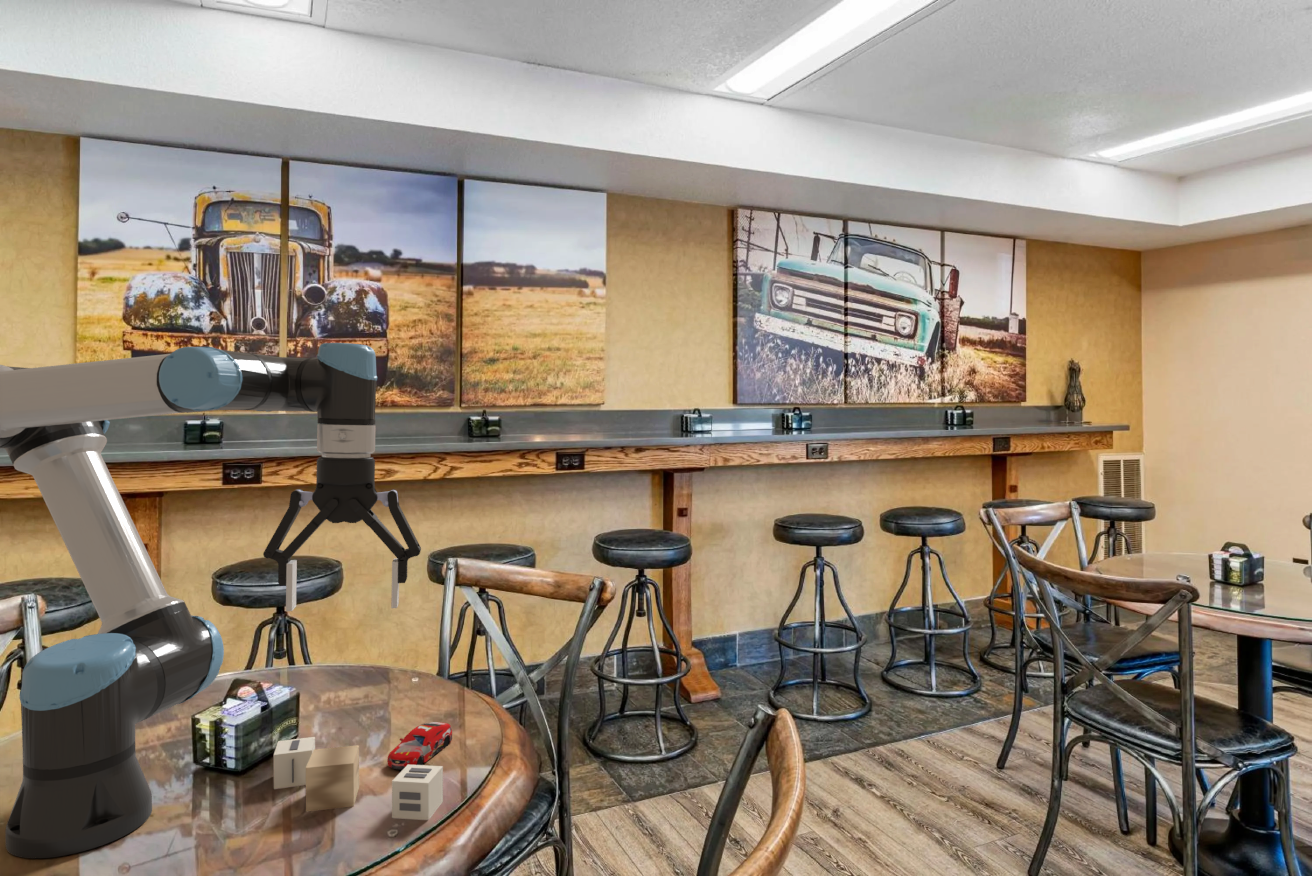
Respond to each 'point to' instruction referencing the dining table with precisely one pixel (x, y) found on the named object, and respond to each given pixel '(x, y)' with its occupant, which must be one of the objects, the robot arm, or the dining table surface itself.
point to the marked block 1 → (292, 762)
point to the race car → (420, 745)
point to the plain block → (332, 778)
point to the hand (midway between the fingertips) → (343, 607)
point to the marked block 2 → (417, 792)
